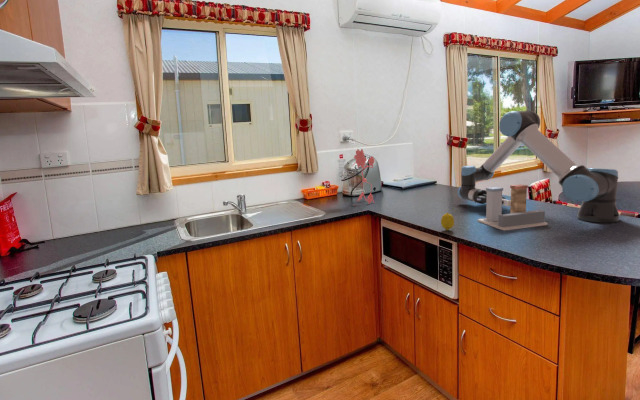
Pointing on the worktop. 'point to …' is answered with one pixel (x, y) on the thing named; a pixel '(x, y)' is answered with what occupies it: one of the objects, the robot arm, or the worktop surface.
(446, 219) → the lemon
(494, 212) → the grey tall block
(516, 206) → the beige wooden tall block
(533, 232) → the worktop surface
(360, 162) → the red flowering branch
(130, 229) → the worktop surface
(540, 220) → the switch base
